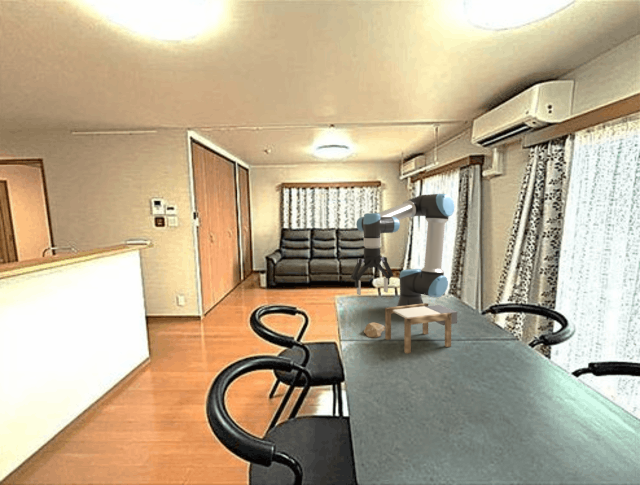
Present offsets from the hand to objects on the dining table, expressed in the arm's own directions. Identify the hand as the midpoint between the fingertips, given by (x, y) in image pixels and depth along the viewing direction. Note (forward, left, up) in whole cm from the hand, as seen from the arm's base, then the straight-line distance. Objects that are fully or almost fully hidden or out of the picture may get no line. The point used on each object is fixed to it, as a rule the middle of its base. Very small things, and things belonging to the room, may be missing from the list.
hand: (372, 293), depth 164 cm
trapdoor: (-16, +17, -10) cm, 26 cm away
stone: (0, +1, -19) cm, 19 cm away
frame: (-12, +17, -19) cm, 28 cm away
